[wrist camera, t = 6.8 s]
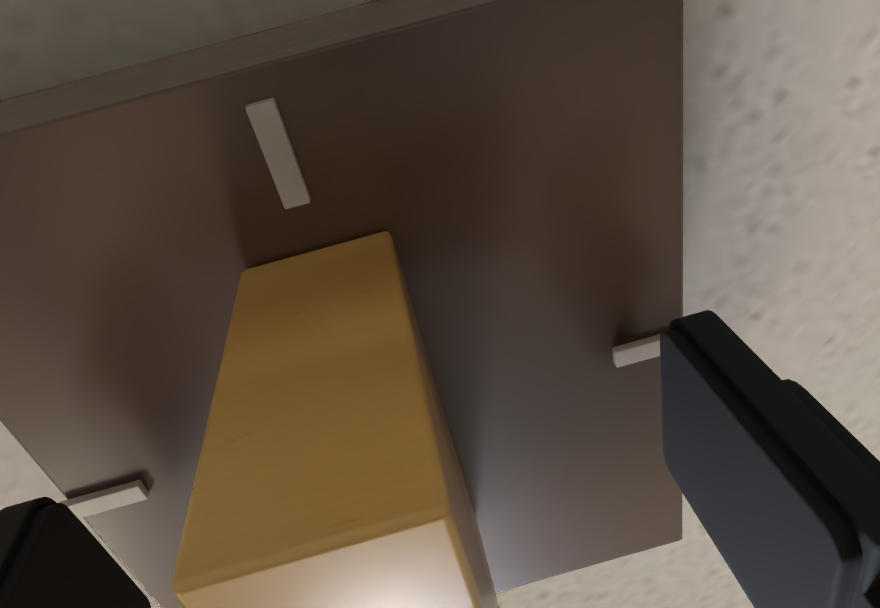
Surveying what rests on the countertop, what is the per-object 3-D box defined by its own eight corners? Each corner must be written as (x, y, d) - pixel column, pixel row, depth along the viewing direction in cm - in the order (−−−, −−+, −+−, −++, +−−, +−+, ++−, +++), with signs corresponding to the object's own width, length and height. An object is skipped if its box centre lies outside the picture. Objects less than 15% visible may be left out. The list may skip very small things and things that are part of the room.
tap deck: (-75, 120, 10) (-220, 195, 7) (599, -60, 10) (699, -51, 7) (228, 558, 16) (210, 682, 14) (632, 445, 17) (690, 545, 14)
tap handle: (239, 268, 9) (155, 622, 4) (389, 227, 9) (456, 538, 4) (374, 557, 13) (403, 900, 8) (478, 527, 13) (562, 854, 8)
